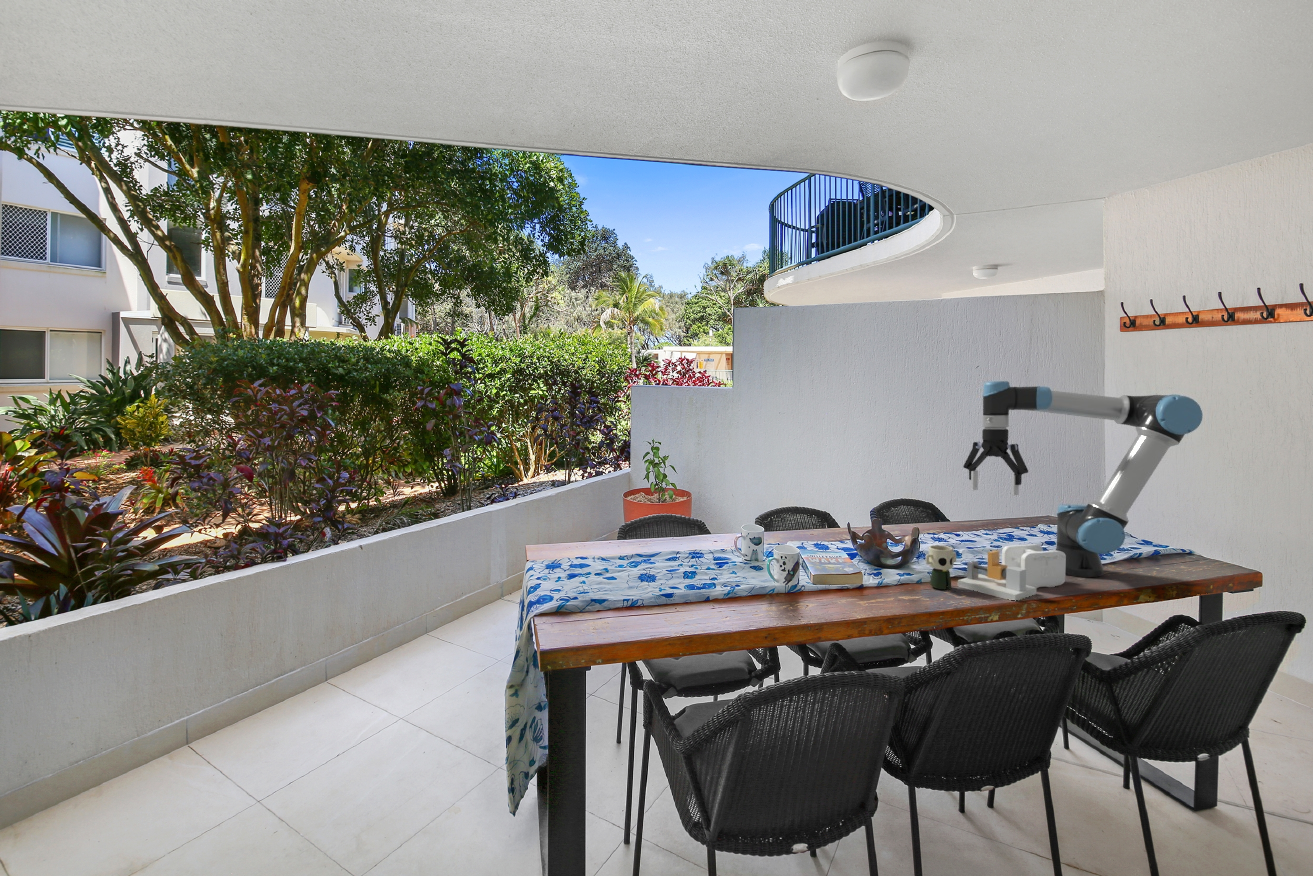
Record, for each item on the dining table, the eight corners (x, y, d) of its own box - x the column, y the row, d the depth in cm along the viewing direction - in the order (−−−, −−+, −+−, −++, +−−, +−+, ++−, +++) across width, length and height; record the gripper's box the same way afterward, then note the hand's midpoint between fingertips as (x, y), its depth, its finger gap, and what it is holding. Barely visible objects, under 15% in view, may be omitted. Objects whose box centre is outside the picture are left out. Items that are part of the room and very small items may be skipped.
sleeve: (994, 575, 197) (994, 550, 196) (1007, 578, 193) (1007, 552, 193) (987, 577, 195) (987, 552, 194) (1000, 580, 191) (1000, 554, 191)
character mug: (933, 592, 193) (933, 551, 192) (918, 586, 200) (918, 546, 199) (963, 589, 195) (963, 549, 194) (947, 583, 202) (948, 543, 201)
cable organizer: (1040, 577, 207) (1041, 543, 206) (1066, 587, 196) (1067, 551, 196) (1000, 580, 204) (1001, 546, 203) (1025, 590, 194) (1026, 553, 193)
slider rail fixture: (979, 580, 205) (979, 555, 205) (1036, 594, 190) (1037, 567, 189) (957, 586, 199) (958, 561, 198) (1015, 601, 184) (1015, 574, 183)
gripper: (953, 427, 213) (952, 488, 214) (1028, 430, 192) (1027, 498, 193) (965, 426, 217) (964, 487, 218) (1041, 429, 196) (1039, 495, 197)
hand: (994, 492), depth 206 cm, fingers open, 13 cm apart
